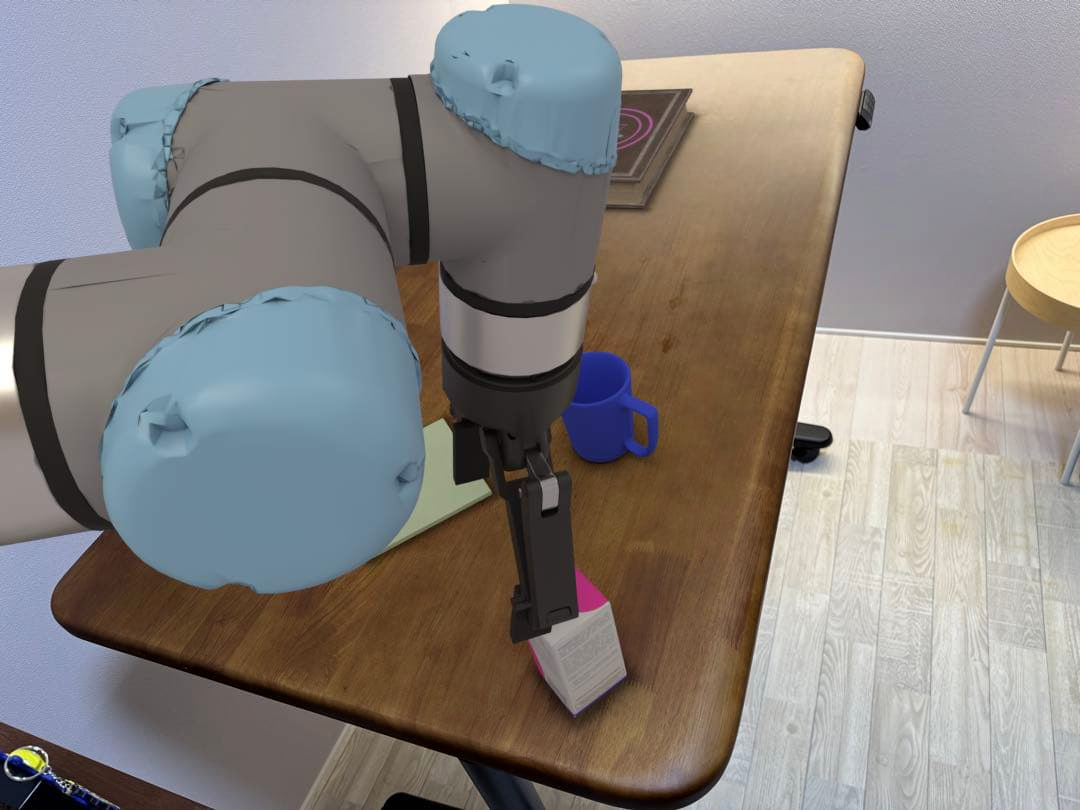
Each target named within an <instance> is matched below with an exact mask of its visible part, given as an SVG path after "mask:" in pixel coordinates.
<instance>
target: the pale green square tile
mask: <svg viewBox="0 0 1080 810" xmlns="http://www.w3.org/2000/svg"><path fill="white" fill-rule="evenodd" d="M423 433H424V442H425V452H426V457H425V469H424V477H423V484H422V487H421V491H420V494H419V498H418V501H417V504H416V506H415V508H414V510H413V512H412V514H411V516H410V518H409V520H408V521H407V522H406V524H405V525H404V527H403V528H402V529H401V531H400V532H399V533H398V535H397V536H396V537H395V538H394V539H393V540H392V541H391V542H390V543H389V545H388V546H387V547H386V548H384V549H383V550H382V551H381V552H380V553H378V554H377V555H376V556H375V557H373V558H372V559H375V558H376V557H379V556H380V555H383V554H384V553H386V552H388V551H389V550H391V549H393V548H395V547H397V546H399V545H400V544H403V543H405V542H406V541H408V540H410V539H412V538H413V537H415V536H417V535H419V534H421V533H423V532H425V531H427V530H429V529H430V528H432V527H435V526H437V525H438V524H440V523H442V522H444V521H445V520H448V519H449V518H451V517H453V516H455V515H457V514H458V513H461V512H462V511H464V510H466V509H467V508H470V507H471V506H473V505H475V504H477V503H478V502H481V501H483V500H485V499H486V498H488V497H490V496H492V495H493V492H492V490H491V488H490V486H489V485H488V483H487V482H486V480H485V479H481V480H477V481H473V482H469V483H465V484H461V485H457V486H456V485H455V482H454V479H453V430H451V428H450V427H449V425H448V423H447V422H446V420H445V419H444V418H443V417H442V418H439V419H438V420H436V421H434V422H432V423H430V424H427V425H426V426H425V427H424V426H423Z"/></svg>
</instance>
